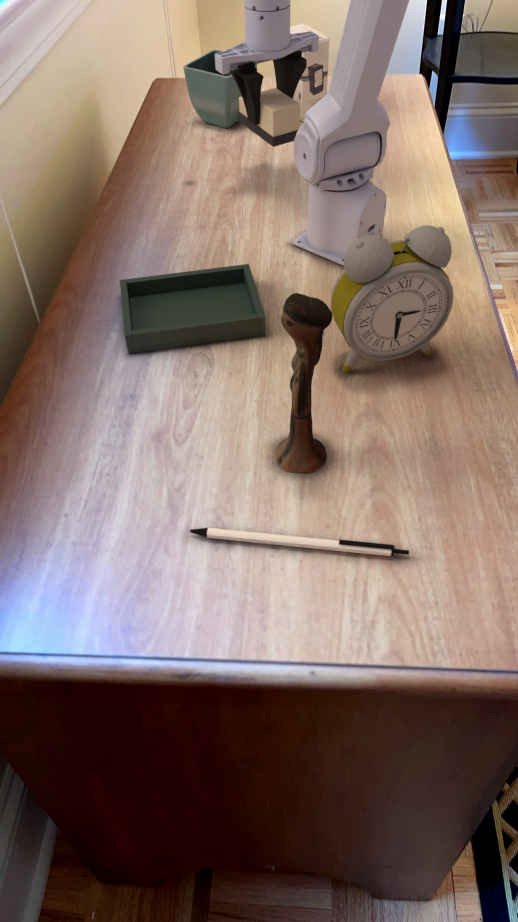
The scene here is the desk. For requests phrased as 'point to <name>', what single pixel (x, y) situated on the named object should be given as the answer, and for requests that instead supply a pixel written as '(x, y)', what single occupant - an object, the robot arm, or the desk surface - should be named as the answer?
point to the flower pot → (212, 91)
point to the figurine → (303, 382)
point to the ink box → (312, 72)
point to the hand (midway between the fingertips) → (268, 117)
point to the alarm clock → (393, 294)
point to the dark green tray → (191, 308)
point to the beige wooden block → (274, 117)
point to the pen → (300, 541)
